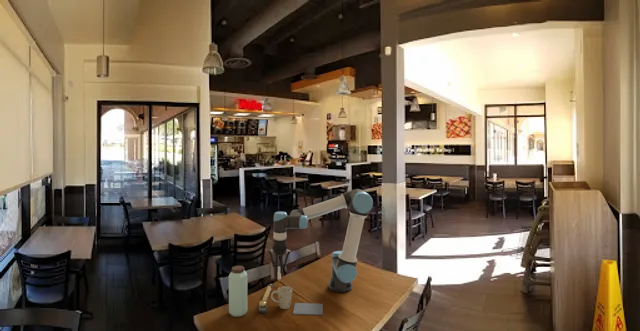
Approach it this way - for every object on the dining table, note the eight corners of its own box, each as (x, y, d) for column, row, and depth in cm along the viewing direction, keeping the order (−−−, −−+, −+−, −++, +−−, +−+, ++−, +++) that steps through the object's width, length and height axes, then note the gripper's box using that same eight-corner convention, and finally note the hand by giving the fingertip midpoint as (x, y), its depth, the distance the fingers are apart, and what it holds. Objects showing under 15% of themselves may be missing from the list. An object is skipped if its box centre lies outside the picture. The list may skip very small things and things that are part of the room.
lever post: (267, 309, 192) (267, 304, 191) (266, 313, 187) (266, 308, 187) (259, 309, 192) (259, 304, 192) (258, 313, 187) (258, 308, 187)
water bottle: (231, 319, 181) (230, 272, 179) (226, 310, 190) (226, 266, 188) (250, 315, 186) (249, 269, 184) (244, 306, 195) (244, 263, 193)
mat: (323, 304, 198) (323, 303, 198) (322, 315, 186) (322, 314, 186) (295, 303, 199) (295, 302, 199) (292, 314, 187) (292, 313, 187)
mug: (289, 310, 191) (289, 293, 190) (268, 308, 193) (268, 291, 193) (294, 303, 199) (294, 286, 198) (273, 301, 202) (273, 284, 201)
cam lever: (273, 288, 213) (273, 283, 212) (265, 308, 187) (265, 302, 187) (267, 287, 213) (267, 282, 213) (258, 308, 187) (258, 302, 187)
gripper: (291, 237, 204) (291, 276, 206) (269, 236, 205) (269, 275, 207) (290, 240, 197) (289, 281, 199) (267, 240, 197) (266, 280, 199)
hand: (279, 278), depth 203 cm, fingers closed
